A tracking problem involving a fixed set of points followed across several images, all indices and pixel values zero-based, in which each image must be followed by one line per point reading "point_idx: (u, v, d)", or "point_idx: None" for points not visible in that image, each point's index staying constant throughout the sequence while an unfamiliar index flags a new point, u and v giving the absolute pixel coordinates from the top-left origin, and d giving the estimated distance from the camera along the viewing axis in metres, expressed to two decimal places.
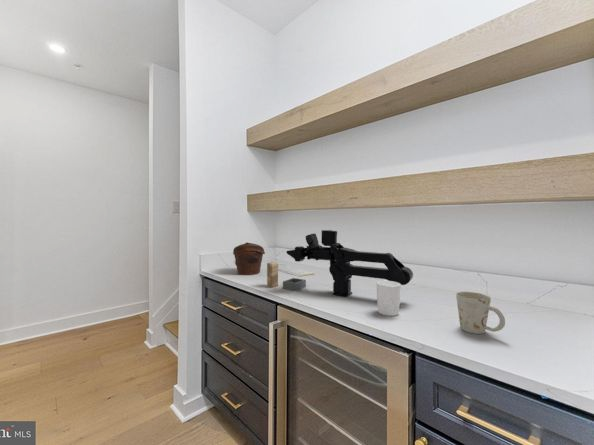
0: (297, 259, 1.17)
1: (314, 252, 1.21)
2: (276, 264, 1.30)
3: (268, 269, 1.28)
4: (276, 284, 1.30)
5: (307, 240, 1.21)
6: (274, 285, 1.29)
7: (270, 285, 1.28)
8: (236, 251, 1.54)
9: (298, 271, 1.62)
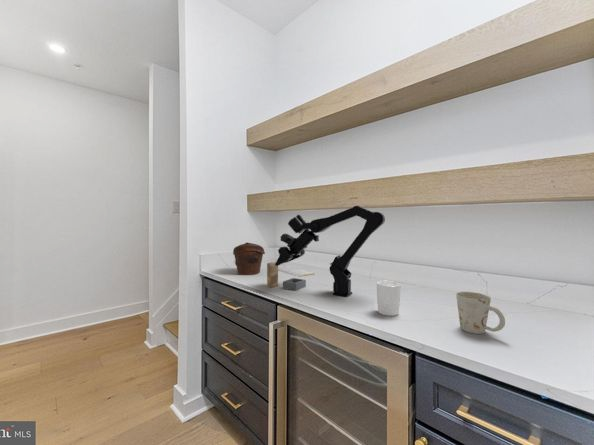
0: (287, 257, 1.16)
1: (296, 244, 1.22)
2: None
3: (268, 269, 1.28)
4: (276, 284, 1.30)
5: (283, 239, 1.23)
6: (274, 285, 1.29)
7: (270, 285, 1.28)
8: (236, 251, 1.54)
9: (298, 271, 1.62)
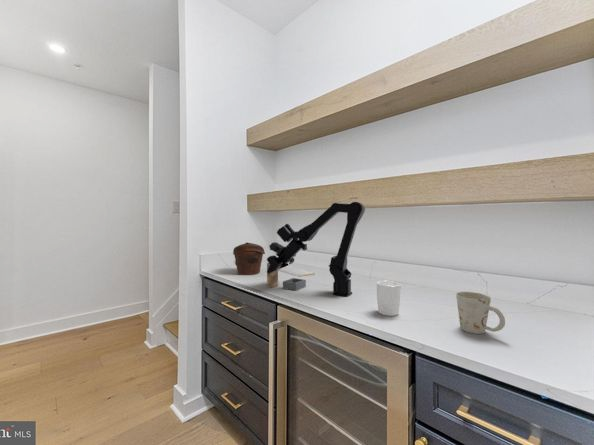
0: (275, 266, 1.19)
1: (284, 253, 1.24)
2: None
3: None
4: (276, 284, 1.30)
5: (272, 248, 1.25)
6: (274, 285, 1.29)
7: (270, 285, 1.28)
8: (236, 251, 1.54)
9: (298, 271, 1.62)
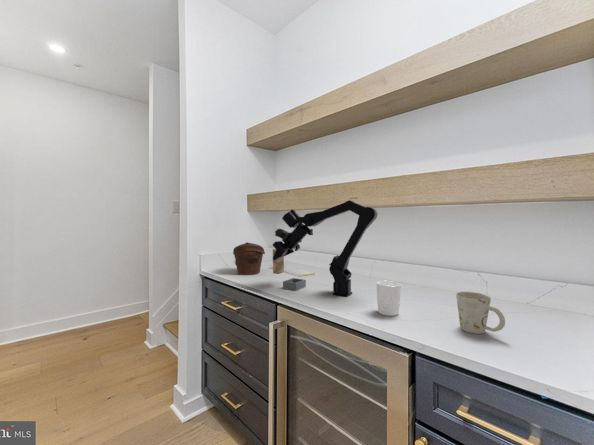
0: (281, 251, 1.18)
1: (290, 238, 1.23)
2: None
3: None
4: (282, 271, 1.29)
5: (278, 234, 1.24)
6: (280, 271, 1.28)
7: (276, 271, 1.27)
8: (236, 251, 1.54)
9: (298, 271, 1.62)
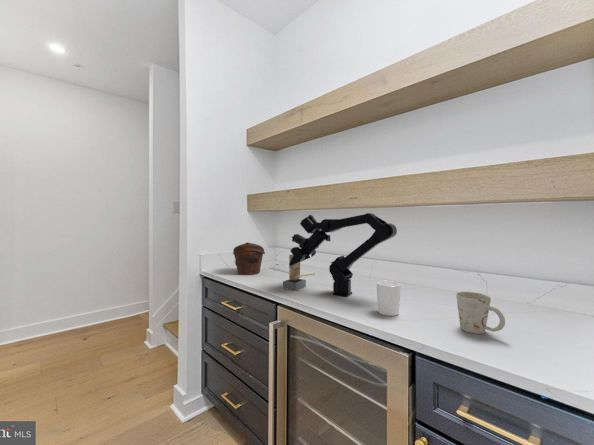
0: (299, 257, 1.16)
1: (308, 244, 1.22)
2: None
3: None
4: (298, 276, 1.27)
5: (295, 240, 1.22)
6: (297, 277, 1.26)
7: (293, 277, 1.25)
8: (236, 251, 1.54)
9: None
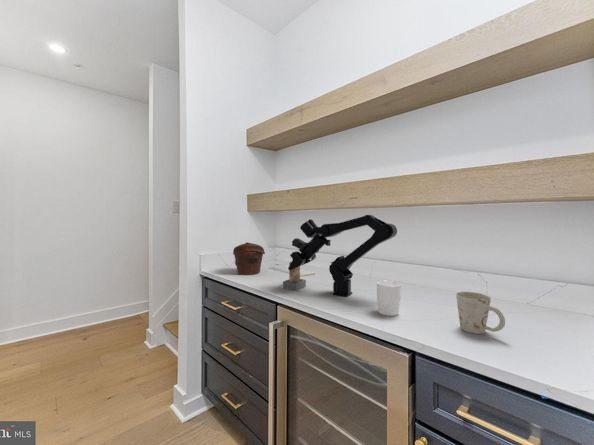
0: (299, 262, 1.16)
1: (307, 249, 1.22)
2: None
3: None
4: None
5: (295, 244, 1.23)
6: None
7: None
8: (236, 251, 1.54)
9: None
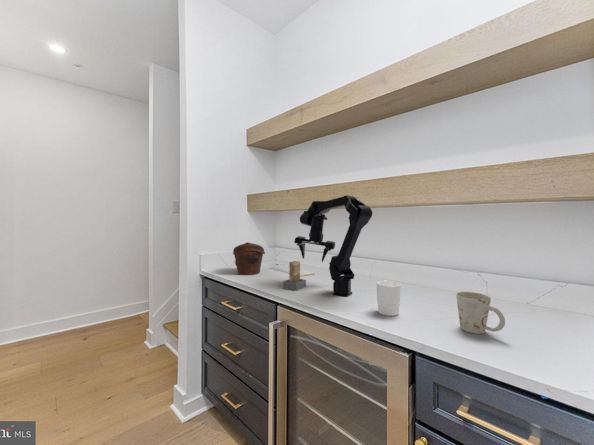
0: None
1: None
2: (298, 263, 1.27)
3: (290, 268, 1.26)
4: None
5: (309, 235, 1.37)
6: None
7: None
8: (236, 251, 1.54)
9: None
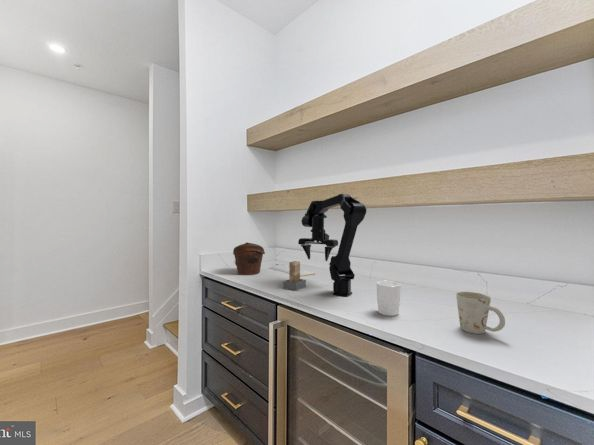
0: None
1: None
2: (298, 263, 1.27)
3: (290, 268, 1.26)
4: None
5: None
6: None
7: None
8: (236, 251, 1.54)
9: None
